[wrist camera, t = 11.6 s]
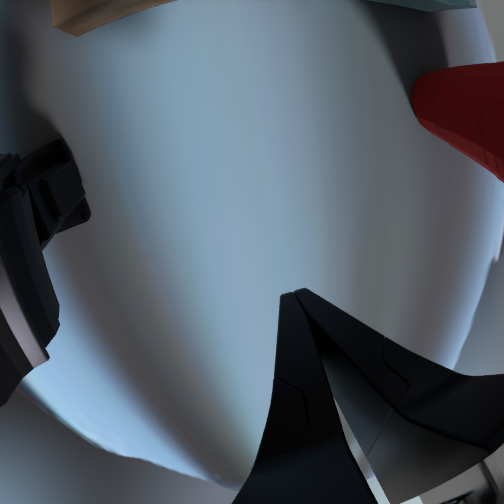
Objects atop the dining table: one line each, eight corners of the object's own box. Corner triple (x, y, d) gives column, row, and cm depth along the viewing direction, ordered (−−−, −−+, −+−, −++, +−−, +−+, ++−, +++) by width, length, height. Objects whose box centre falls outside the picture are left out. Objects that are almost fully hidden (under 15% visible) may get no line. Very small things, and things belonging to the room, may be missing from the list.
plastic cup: (468, 151, 22) (558, 196, 12) (396, 166, 22) (505, 228, 12) (461, 51, 17) (562, 67, 6) (380, 41, 16) (508, 37, 6)
